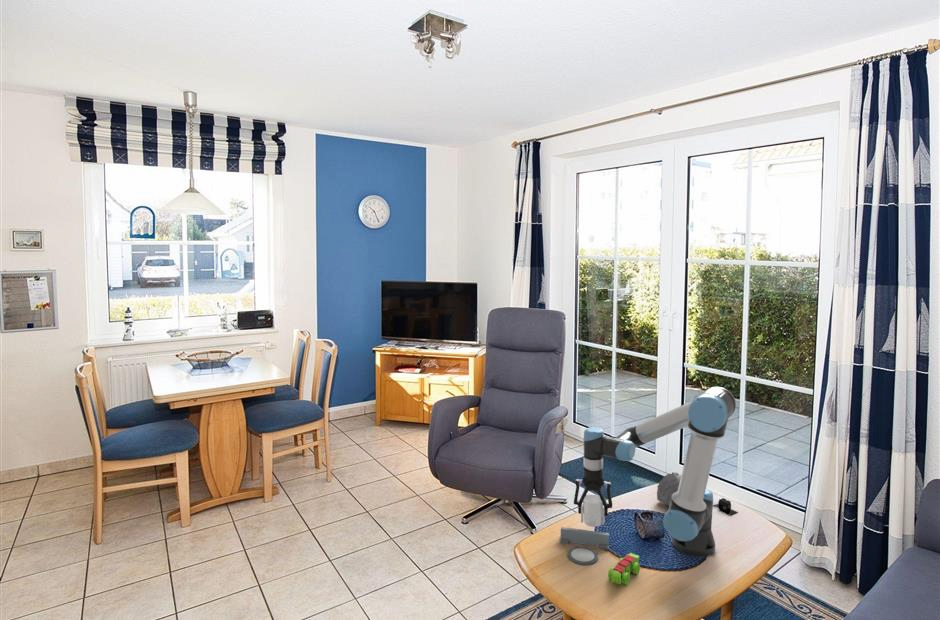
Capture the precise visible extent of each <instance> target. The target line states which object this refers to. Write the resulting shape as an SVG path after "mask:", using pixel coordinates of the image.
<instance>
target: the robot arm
mask: <svg viewBox="0 0 940 620" xmlns="http://www.w3.org/2000/svg"><path fill="white" fill-rule="evenodd" d="M736 407H737V404H736V399H735V396H734V394H732V392H731V391H730V390H728V389H726V388H724V387H721V386H712V387H709V388H707V389H705V391H703V392H701V393H699V394H698V395H694V397H693V398H692V400H691V401H689V402H687V403H685V404H682V405H680V406H678V407H675V408H673V409H671V410H669V411H666V412H664V413H662V414H659V415H657V416H655V417H653V418H650V419H648V420H646V421H643V422H641V423H639V424H637V425H635V426H630V427H628V428H626V429H625V430H624V431H623V432H621V433H620V434H619V435H617V436H616V437H613V436H607V435H605V432H604V430H603V429H602V428H600V427H596V426H593V427H592V426H591V427H587V428H586V429H584V431H583V460H582V461H583V468H582V469H583V471H582V472H583V476H582V479H579V478H576V479H575V481H574V482H575V491H574V499H573V504H574V505H576V506H577V510H578V511H577V513H578V514H580V522H581V523H584V512H583V499H585V496H586V495H588V492H589V491H594V492H597V495H598V496H600V499H601V501H603V509H602V524H601V526H605V522H606V521H605V518H606V517H608V512H609V511H608V510H609V509H612V508H613V498H612V493H611V486H612V482H611V481H605V479H604V457H608V458H612V459H616V460H619V461H624V462H625V461H626V462H631V461H632V460H633V459H634V457H635V454H636V448H638V447H640V446H643V445H645V444H648V443H650V442H652V441H655V440H657V439H660V438H662V437H665V436H668V435H670V434H671V433H674V432H677V431H680V430H682V429H683V428H687V427H688V428H689V430H690V432H691V433H690V438H689V440H688V441H689V442H688V445H687V450H686V454H685V459H684V463H683V467H682V472H681V474H680V475H681V479H680V483H679V488H678V492H675V493H673V494H672V497H671V501H670V506H668V509H667V511H666V512H665V513H664V517H663V519H662V520H663V521H662V523H663V526H664V529H665V530H666V532H667V534H669V535H670V536H671V538H672V541H671V544H672V545H673V546H674V548H675V549H676V550H677V551H679V552H681V553H683V554H685V555H689V556H692V557H698V558H701V557H702V558H703V557H709V556H712V555H713V554H715V552H716V542H715V541H716V540H715V537H714V534H713V531H712V523H713V505H714V495H713V492H712V490H710V489H708V487H707V485H708V481H709V477H710V472H711V468H712V465H713V460H714V458H715V453H716V449H717V445H718V441H719V439H722V438H724V437H725V432H726V430H727V426H728V425H727V424H728V422H729V419H730V418H731V416H732V415H733V414H734V413H735V411H736ZM582 484H583V486H584V490H583V492H582V494H581V496H580V498H579V493H580V486H581V485H582ZM603 485H604V487H605V488H606V494H607V500H606V497H605V496H604V492H603V490H602V487H603ZM578 498H579V500H578ZM607 501H608V502H607Z"/></svg>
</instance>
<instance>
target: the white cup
mask: <svg viewBox="0 0 940 620" xmlns="http://www.w3.org/2000/svg"><path fill="white" fill-rule="evenodd" d="M582 504H583V512H584V513H583V523H584V524H585V525H586V526H588V527H592V528H598V527H600V526H602V509H603V501H601V499H600V496H599V494H586V496H585V499H583V503H582Z"/></svg>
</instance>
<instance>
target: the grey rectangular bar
mask: <svg viewBox="0 0 940 620" xmlns="http://www.w3.org/2000/svg"><path fill="white" fill-rule="evenodd" d="M569 543H573V544H580V545H587V546H593V547H599V549H600V550H603V551H604V550H605V551H609V546H610V545H609V544H610V533H609V532H603V531H594V530H587V529H579V528H572V527H565V526H561V527H560V540H559V544H564V545H569Z"/></svg>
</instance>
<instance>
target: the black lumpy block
mask: <svg viewBox="0 0 940 620" xmlns="http://www.w3.org/2000/svg"><path fill="white" fill-rule="evenodd" d="M713 508H714V509H715V510H717V511H719V512H722V514H723V513H724V514H725V515H727V516H729V517H732V516H734V515H736V514H738V513H739V511H736V510H734V509H732V502H731V501H730V500H728V499H726V498H724V497H722V498H719V499H718V503H716V504H713Z"/></svg>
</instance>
